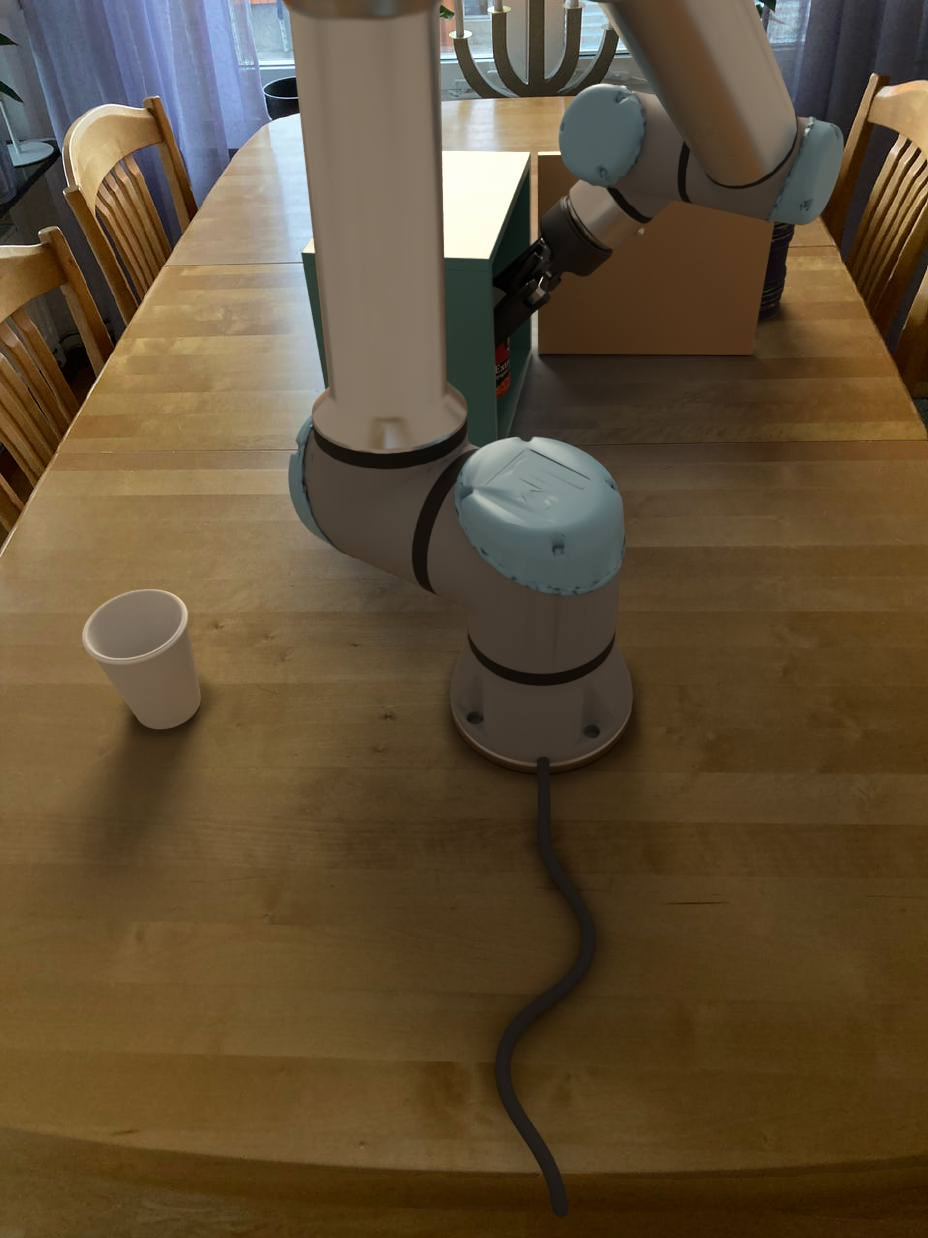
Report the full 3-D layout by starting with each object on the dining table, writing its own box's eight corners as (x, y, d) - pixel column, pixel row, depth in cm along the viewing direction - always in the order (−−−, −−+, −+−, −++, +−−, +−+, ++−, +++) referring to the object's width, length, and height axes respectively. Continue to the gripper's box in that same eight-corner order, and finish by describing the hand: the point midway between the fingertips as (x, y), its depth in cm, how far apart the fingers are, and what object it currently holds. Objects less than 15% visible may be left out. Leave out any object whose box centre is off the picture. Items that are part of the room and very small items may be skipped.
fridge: (532, 352, 123) (531, 151, 106) (497, 476, 105) (489, 258, 88) (395, 345, 126) (372, 149, 109) (338, 465, 108) (300, 252, 91)
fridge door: (540, 327, 127) (540, 132, 110) (746, 327, 124) (779, 127, 107) (537, 353, 122) (537, 154, 105) (751, 354, 119) (786, 150, 102)
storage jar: (723, 329, 125) (741, 212, 114) (691, 295, 131) (704, 182, 121) (794, 315, 126) (817, 199, 115) (758, 282, 133) (777, 170, 122)
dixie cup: (114, 685, 86) (76, 604, 79) (207, 657, 88) (178, 576, 81) (125, 754, 81) (85, 674, 74) (224, 723, 82) (195, 642, 75)
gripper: (607, 296, 91) (451, 430, 105) (625, 208, 105) (485, 336, 119) (551, 239, 88) (399, 384, 103) (577, 156, 102) (440, 294, 117)
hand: (445, 358), depth 111 cm, fingers closed on canned food, 8 cm apart
